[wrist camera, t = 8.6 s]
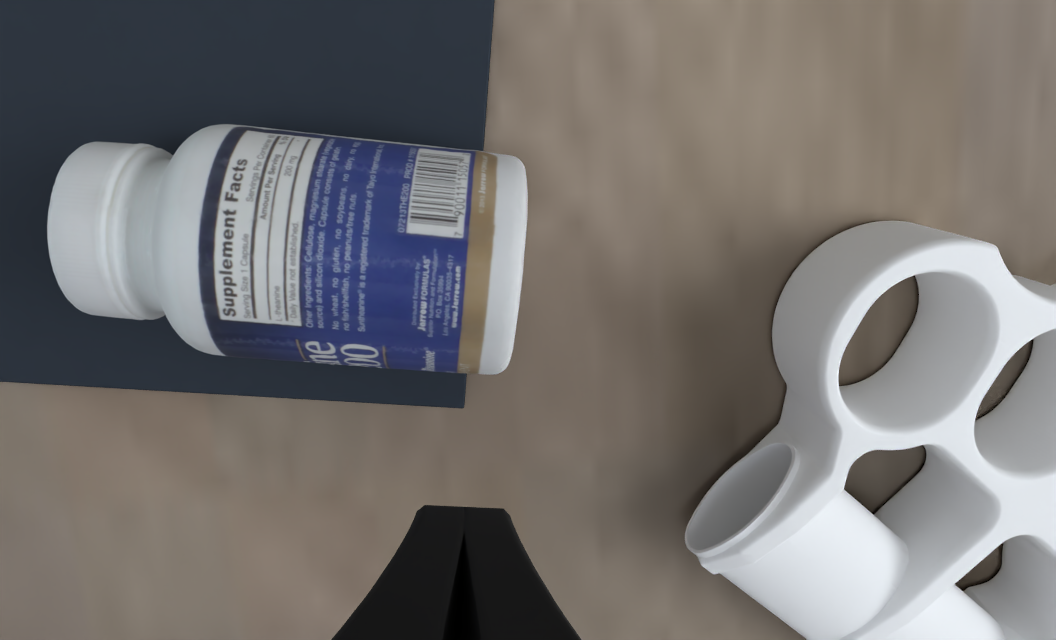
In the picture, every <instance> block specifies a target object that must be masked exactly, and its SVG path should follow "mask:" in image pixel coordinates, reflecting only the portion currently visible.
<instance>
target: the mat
mask: <svg viewBox="0 0 1056 640" xmlns="http://www.w3.org/2000/svg"><path fill="white" fill-rule="evenodd" d="M493 13H494V0H0V382H17V383H35V384H52V385H69V386H86V387H104V388H121V389H138V390H155V391H173V392H190V393H207V394H224V395H242V396H259V397H276V398H293V399H310V400H328V401H345V402H362V403H379V404H397V405H414V406H431V407H448V408H464V403H465V390H466V376H467V373H448V372H433V371H417V370H406V369H389V368H378V367H365V366H350V365H338V364H323V363H312V362H296V361H281V360H268V359H252V358H237V357H229V356H221V355H213V354H208V353H205V352H202V351H199V350H197V349H195V348H193V347H192V346H190V345H189V344H187V343H186V342H185V341H184V340H183V339H182V338H181V337H180V336H179V335H178V334H177V333H176V331H175V330H174V329H173V327H172V326H171V324H170V322H169V321H168V319H167V317H166V315H164V316H163V317H160V318H158V319H154V320H148V319H144V320H135V319H126V318H115V317H106V316H98V315H91V314H87V313H85V312H82V311H80V310H79V309H77V308H76V307H75V306H74V305H73V304H72V303H71V302H70V301H69V300H68V299H67V298H66V297H65V295H64V294H63V292H62V290H61V288H60V287H59V285H58V282H57V280H56V277H55V275H54V272H53V268H52V265H51V260H50V256H49V248H48V239H47V222H48V210H49V205H50V198H51V194H52V189H53V186H54V184H55V180H56V177H57V175H58V173H59V170H60V168H61V167H62V165H63V164H64V162H65V161H66V159H67V158H68V157H69V156H70V155H71V154H72V153H73V152H74V151H75V150H76V149H78V148H79V147H81V146H82V145H84V144H87V143H90V142H113V143H127V144H139V143H142V144H149V145H152V146H154V147H156V148H161V149H163V150H165V151H167V152H169V153H170V154H172V155H174V154H175V152H176V151H177V149H178V148H179V147H180V146H181V144H182V143H183V142H184V141H185V140H186V139H187V138H188V137H190V136H191V135H192V134H194V133H195V132H197V131H199V130H201V129H203V128H205V127H208V126H212V125H218V124H231V125H244V126H253V127H262V128H271V129H279V130H288V131H296V132H304V133H315V134H324V135H333V136H342V137H352V138H361V139H371V140H380V141H390V142H399V143H408V144H418V145H427V146H436V147H445V148H454V149H462V150H479V151H483V148H484V134H485V121H486V107H487V94H488V80H489V67H490V54H491V40H492V27H493Z"/></svg>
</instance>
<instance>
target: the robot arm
mask: <svg viewBox="0 0 1056 640" xmlns="http://www.w3.org/2000/svg"><path fill="white" fill-rule="evenodd" d="M332 640H581V638H580V637H579V636H578V634H577V633H576V631H575V630H574V629H573V627H572V626H571V624H570V623H569V622H568V620H567V619H566V617H565V616H564V614H563V613H562V611H561V610H560V608H559V607H558V605H557V604H556V602H555V601H554V599H553V597H552V596H551V594H550V592H549V591H548V589H547V588H546V586H545V584H544V583H543V581H542V579H541V578H540V576H539V574H538V573H537V571H536V569H535V567H534V566H533V564H532V562H531V560H530V558H529V556H528V554H527V553H526V551H525V549H524V547H523V545H522V543H521V541H520V539H519V537H518V534H517V532H516V530H515V528H514V525H513V523H512V520H511V517H510V515H509V514H508V513H507V512H506V511H505V510H504V509H499V508H476V507H454V506H431V505H424V506H423V507H422V508H421V509H419V510H418V511H417V513H416V515H415V518H414V520H413V522H412V525H411V527H410V529H409V531H408V533H407V534H406V536H405V538H404V540H403V542H402V543H401V545H400V547H399V548H398V550H397V552H396V553H395V555H394V556H393V558H392V560H391V561H390V563H389V564H388V565H387V567H386V568H385V570H384V571H383V573H382V574H381V576H380V577H379V579H378V580H377V582H376V583H375V585H374V586H373V588H372V589H371V590H370V592H369V593H368V594H367V596H366V597H365V598H364V600H363V601H362V602H361V603H360V605H359V606H358V607H357V609H356V610H355V611H354V612H353V614H352V615H351V616H350V617H349V619H348V620H347V621H346V623H345V624H344V625H343V626H342V628H341V629H340V630H339V631H338V633H337V634H336V635H335V636H334V637H333V638H332Z"/></svg>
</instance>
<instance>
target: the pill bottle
mask: <svg viewBox="0 0 1056 640" xmlns="http://www.w3.org/2000/svg"><path fill="white" fill-rule="evenodd" d="M527 200H528V192H527V179H526V171H525V167H524V164H523V163H522V162H521V160H519V159H518V158H517V157H514V156H511V155H504V154H496V153H490V152H484V151H479V150H462V149H454V148H445V147H436V146H427V145H418V144H408V143H399V142H390V141H380V140H371V139H361V138H352V137H342V136H333V135H324V134H315V133H304V132H296V131H288V130H279V129H271V128H262V127H253V126H244V125H231V124H218V125H212V126H208V127H205V128H203V129H201V130H199V131H197V132H195V133H194V134H192V135H191V136H190V137H188V138H187V139H186V140H185V141H184V142H183V143H182V144H181V146H180V147H179V148H178V149H177V151H176V152H175V154H174V155H172V154H170V153H169V152H167V151H165V150H163V149H161V148H156V147H154V146H152V145H149V144H142V143H139V144H127V143H113V142H90V143H87V144H84V145H82V146H81V147H79V148H78V149H76V150H75V151H74V152H73V153H72V154H71V155H70V156H69V157H68V158H67V159H66V161H65V162H64V164H63V165H62V167H61V168H60V170H59V173H58V175H57V177H56V180H55V184H54V186H53V189H52V194H51V198H50V205H49V210H48V222H47V239H48V248H49V256H50V260H51V265H52V268H53V272H54V275H55V277H56V280H57V282H58V285H59V287H60V288H61V290H62V292H63V294H64V295H65V297H66V298H67V299H68V300H69V301H70V302H71V303H72V304H73V305H74V306H75V307H76V308H77V309H79V310H80V311H82V312H85V313H87V314H91V315H98V316H106V317H115V318H126V319H135V320H144V319H148V320H154V319H158V318H160V317H163V316H164V315H166V317H167V319H168V321H169V322H170V324H171V326H172V327H173V329H174V330H175V331H176V333H177V334H178V335H179V336H180V337H181V338H182V339H183V340H184V341H185V342H186V343H187V344H189V345H190V346H192V347H193V348H195V349H197V350H199V351H202V352H205V353H208V354H213V355H221V356H229V357H237V358H252V359H268V360H281V361H296V362H312V363H323V364H338V365H350V366H365V367H378V368H389V369H406V370H417V371H433V372H448V373H468V374H492V375H495V374H499V373H500V372H502V371H503V370H505V369H506V368H507V366H508V364H509V362H510V358H511V355H512V351H513V346H514V338H515V331H516V324H517V317H518V310H519V303H520V293H521V284H522V276H523V265H524V252H525V240H526V227H527Z"/></svg>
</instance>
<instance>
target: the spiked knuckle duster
mask: <svg viewBox="0 0 1056 640" xmlns="http://www.w3.org/2000/svg"><path fill="white" fill-rule="evenodd" d="M914 275H915V277H916V280H917V283H918V289H919V304H918V310H917V313H916V317H915V319H914V322H913V324H912V326H911V328H910V329H909V331H908V333H907V334H906V336H905V338H904V339H903V341H902V342H901V344H900V346H899V347H898V349H897V350H896V352H895V354H894V355H893V356H892V358H891V359H890V360H889V361H888V363H887V364H886V365H885V366H884V367H883V368H881V369H880V370H879V371H878V372H876V373H875V374H874V375H872V376H870V377H869V378H867V379H865V380H863V381H860V382H858V383H855V384H851V385H846V386H839V382H838V374H839V366H840V362H841V358H842V355H843V353H844V350H845V348H846V346H847V344H848V342H849V341H850V339H851V337H852V336H853V334H854V332H855V331H856V329H857V327H858V325H859V324H860V322H861V320H862V319H863V317H864V315H865V314H866V312H867V311H868V309H869V308H870V307H871V305H872V304H873V303H874V302H875V301H876V300H877V299H878V298H879V297H880V296H881V295H882V294H883V293H884V292H885V291H886V290H888V289H889V288H890V287H892V286H893V285H895V284H897V283H898V282H900V281H902V280H904V279H906V278H909V277H911V276H914ZM1032 339H1034V340H1033V348H1032V352H1031V356H1030V358H1029V361H1028V363H1027V365H1026V367H1025V369H1024V370H1023V372H1022V374H1021V375H1020V377H1019V378H1018V379H1017V381H1016V382H1015V384H1014V385H1013V387H1012V388H1011V390H1010V391H1009V393H1008V394H1007V396H1006V397H1005V398H1004V399H1003V401H1002V402H1001V403H1000V404H999V405H998V406H997V407H996V408H994V409H993V410H992V411H991V412H989V413H988V414H986V415H985V416H983V417H981V418H980V419H978V420H976V421H975V418H976V414H977V411H978V408H979V406H980V403H981V401H982V399H983V397H984V396H985V394H986V392H987V391H988V389H989V388H990V386H991V385H992V383H993V382H994V380H995V379H996V377H997V376H998V374H999V373H1000V371H1001V370H1002V368H1003V367H1004V366H1005V364H1006V363H1007V362H1008V360H1009V359H1010V358H1011V357H1012V356H1013V355H1014V354H1015V353H1016V352H1017V351H1018V350H1019V349H1020V348H1021V347H1022V346H1024V345H1025V344H1026V343H1027V342H1029V341H1030V340H1032ZM772 344H773V352H774V356H775V360H776V363H777V366H778V369H779V371H780V373H781V375H782V377H783V379H784V381H785V382H786V384H787V391H786V396H785V400H784V405H783V409H782V414H781V418H780V421H779V423H778V425H777V426H776V427H775V428H774V429H773V430H771V431H770V432H769V433H768V434H767V435H766V436H765V437H764V438H763V439H762V440H761V441H760V442H759V443H758V444H757V445H756V446H755V447H754V448H753V449H752V450H751V451H750V452H749V453H748V454H747V455H746V456H745V457H743V458H742V459H741V460H739V461H738V462H737V463H735V464H734V465H733V466H732V467H731V468H729V469H728V470H727V471H726V472H725V473H724V474H723V475H722V476H721V477H720V478H719V479H718V480H717V481H716V482H715V484H714V485H713V486H712V487H711V488H710V490H709V491H708V492H707V493H706V495H705V496H704V497H703V499H702V500H701V502H700V503H699V505H698V506H697V508H696V510H695V511H694V513H693V515H692V517H691V519H690V521H689V523H688V525H687V528H686V531H685V543H686V546H687V548H688V549H689V550H690V551H691V552H693V553H694V554H695V555H696V556H697V557H698V559H699V561H700V563H701V565H702V566H703V567H704V568H705V569H707V570H708V571H709V572H711V573H712V574H714V575H715V574H718V573H720V574H722V575H723V576H724V577H726V578H727V579H728V580H729V581H731V582H732V583H733V584H735V585H736V586H737V587H739V588H740V589H741V590H743V591H744V592H745V593H747V594H748V595H749V596H751V597H752V598H753V599H755V600H756V601H757V602H759V603H760V604H761V605H763V606H764V607H765V608H766V609H768V610H769V611H770V612H772V613H773V614H774V615H776V616H777V617H778V618H780V619H781V620H782V621H784V622H785V623H786V624H788V625H789V626H790V627H792V628H793V629H794V630H796V631H797V632H798V633H799V634H801V635H802V636H803V637H805V638H806V640H1056V283H1054V284H1053V285H1051V286H1050V285H1047V284H1044V283H1040V282H1037V281H1034V280H1031V279H1027V278H1024V277H1021V276H1018V275H1011V273H1010V272H1009V270H1008V269H1007V267H1006V266H1005V264H1004V262H1003V260H1002V258H1001V255H1000V253H999V250H998V248H997V247H996V246H995V245H993V244H991V243H988V242H984V241H981V240H977V239H973V238H969V237H965V236H961V235H958V234H954V233H950V232H946V231H942V230H938V229H935V228H931V227H927V226H923V225H919V224H916V223H911V222H904V221H878V222H871V223H867V224H863V225H859V226H856V227H853V228H850V229H848V230H845V231H843V232H841V233H839V234H837V235H835V236H833V237H832V238H830V239H828V240H827V241H825V242H824V243H823V244H821V245H820V246H819V247H817V248H816V249H815V250H814V251H812V252H811V253H810V254H809V255H808V256H807V257H806V258H805V259H804V260H803V261H802V262H801V264H800V265H799V266H798V267H797V268H796V270H795V271H794V272H793V274H792V275H791V277H790V278H789V280H788V282H787V283H786V285H785V287H784V289H783V291H782V293H781V295H780V298H779V300H778V303H777V306H776V310H775V314H774V319H773V326H772ZM920 445H923V446H924V447H925V449H926V461H925V464H924V466H923V468H922V469H921V471H920V472H919V473H918V474H917V475H916V476H915V477H914V478H913V479H912V480H911V481H910V482H908V483H907V484H906V485H905V486H904V487H903V488H902V489H901V490H900V491H899V492H897V493H896V494H895V495H894V496H893V497H892V498H891V499H890V500H889V501H888V502H887V503H885V504H884V505H883V506H882V507H881V508H880V509H879V510H878V511H877V512H876V513H875V514H874V515H873V514H872V513H871V512H870V511H868V510H867V509H866V508H865V507H864V506H863V505H861V504H860V503H859V502H858V501H857V500H856V499H854V498H853V497H852V496H851V495H850V494H849V493H847V492H846V491H845V490H844V486H845V482H846V478H847V475H848V471H849V469H850V467H851V465H852V464H853V463H854V461H855V460H856V459H857V458H859V457H860V456H861V455H863V454H865V453H867V452H869V451H873V450H902V449H908V448H913V447H917V446H920ZM1003 542H1004V544H1003V549H1002V566H1001V568H1000V570H999V572H998V573H997V575H996V576H995V577H994V578H992V579H991V580H989V581H988V582H986V583H983V584H979V585H975V586H971V587H968V588H967V589H966V590H964V591H962V590H961V589H959V588H958V587H957V586H956V585H955V583H956V582H957V581H959V580H960V579H961V578H962V577H963V576H964V575H966V574H967V573H968V572H969V571H970V570H971V569H972V568H974V567H975V566H976V565H977V564H978V563H979V562H981V561H982V560H983V559H984V558H985V557H986V556H987V555H989V554H990V553H991V552H992V551H993V550H994V549H996V548H997V547H998V546H999V545H1000V544H1002V543H1003Z"/></svg>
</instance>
